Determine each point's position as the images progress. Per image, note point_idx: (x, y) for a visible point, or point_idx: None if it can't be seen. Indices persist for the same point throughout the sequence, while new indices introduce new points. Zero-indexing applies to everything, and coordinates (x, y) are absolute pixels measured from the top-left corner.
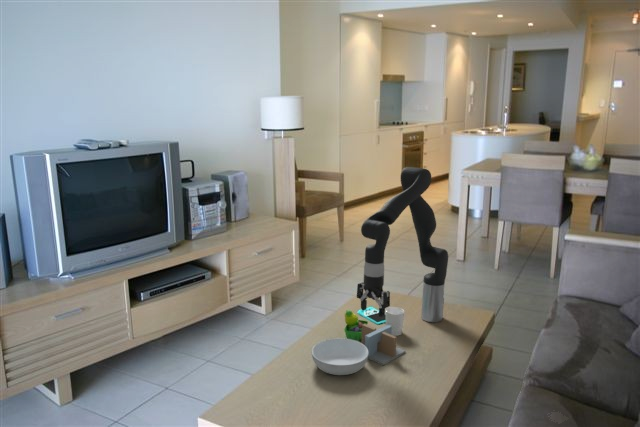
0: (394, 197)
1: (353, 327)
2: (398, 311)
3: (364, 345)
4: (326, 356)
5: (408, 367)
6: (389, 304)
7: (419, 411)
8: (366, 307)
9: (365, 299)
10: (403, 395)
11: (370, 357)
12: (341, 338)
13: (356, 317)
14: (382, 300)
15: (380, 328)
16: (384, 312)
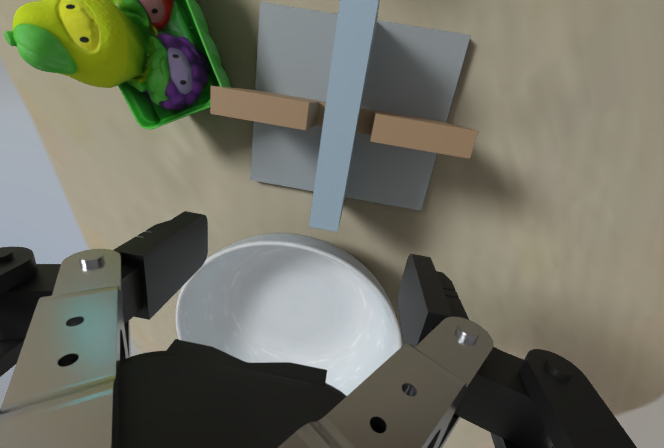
0: None
1: (163, 92)
2: None
3: (340, 261)
4: (232, 296)
5: (524, 162)
6: (590, 397)
7: (627, 375)
8: (197, 218)
9: (126, 280)
10: (557, 333)
11: (355, 198)
12: (217, 257)
13: (109, 31)
14: (450, 416)
15: (331, 83)
16: (454, 298)
